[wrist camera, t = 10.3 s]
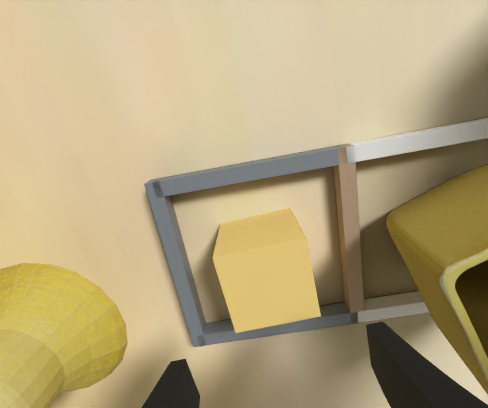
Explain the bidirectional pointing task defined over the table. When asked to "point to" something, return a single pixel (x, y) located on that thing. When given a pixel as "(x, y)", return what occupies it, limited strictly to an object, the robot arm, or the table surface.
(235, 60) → the table surface
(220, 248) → the ochre block
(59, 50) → the table surface
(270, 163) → the sorting board
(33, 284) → the handbell
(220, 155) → the table surface
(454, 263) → the flower pot
